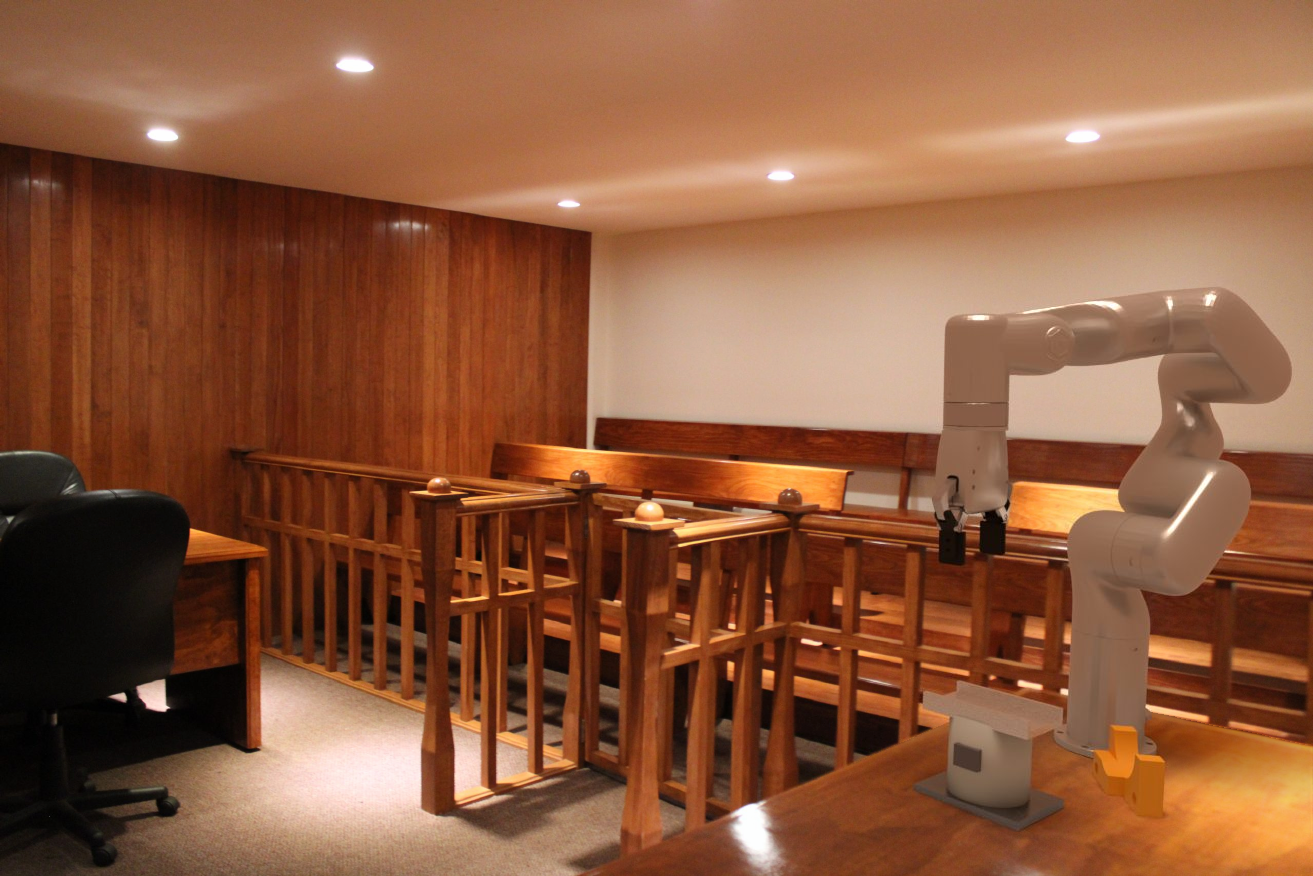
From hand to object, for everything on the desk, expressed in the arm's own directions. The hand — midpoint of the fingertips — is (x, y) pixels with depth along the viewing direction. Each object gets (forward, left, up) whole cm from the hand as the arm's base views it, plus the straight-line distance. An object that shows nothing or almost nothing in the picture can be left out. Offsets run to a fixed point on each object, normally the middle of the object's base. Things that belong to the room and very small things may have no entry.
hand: (972, 558), depth 123 cm
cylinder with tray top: (+6, +7, -26) cm, 28 cm away
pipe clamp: (-9, +16, -27) cm, 32 cm away
